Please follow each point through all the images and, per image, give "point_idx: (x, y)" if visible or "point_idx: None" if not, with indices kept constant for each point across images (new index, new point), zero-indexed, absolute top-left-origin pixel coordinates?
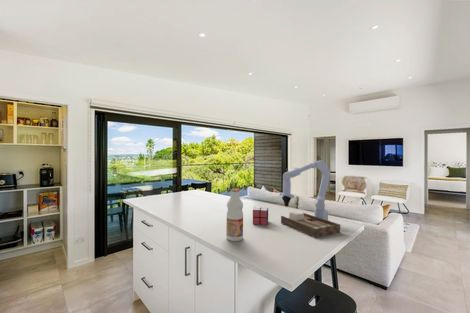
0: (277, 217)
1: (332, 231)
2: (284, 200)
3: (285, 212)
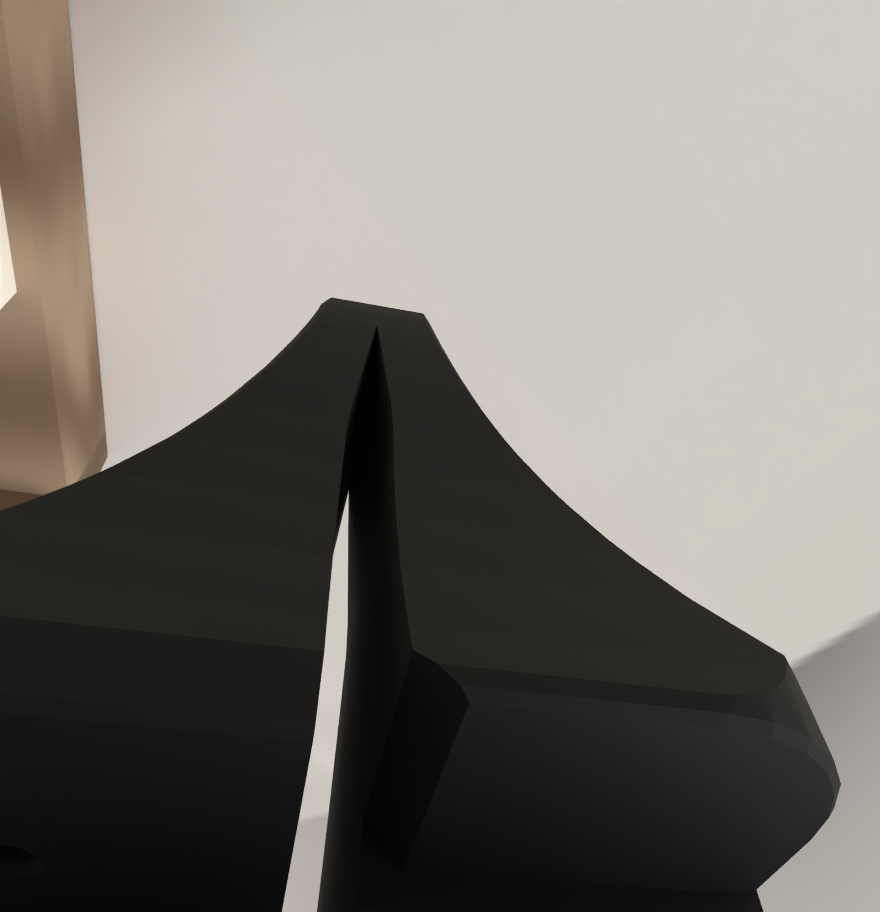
0: (682, 28)
1: None
2: (394, 492)
3: (755, 572)
